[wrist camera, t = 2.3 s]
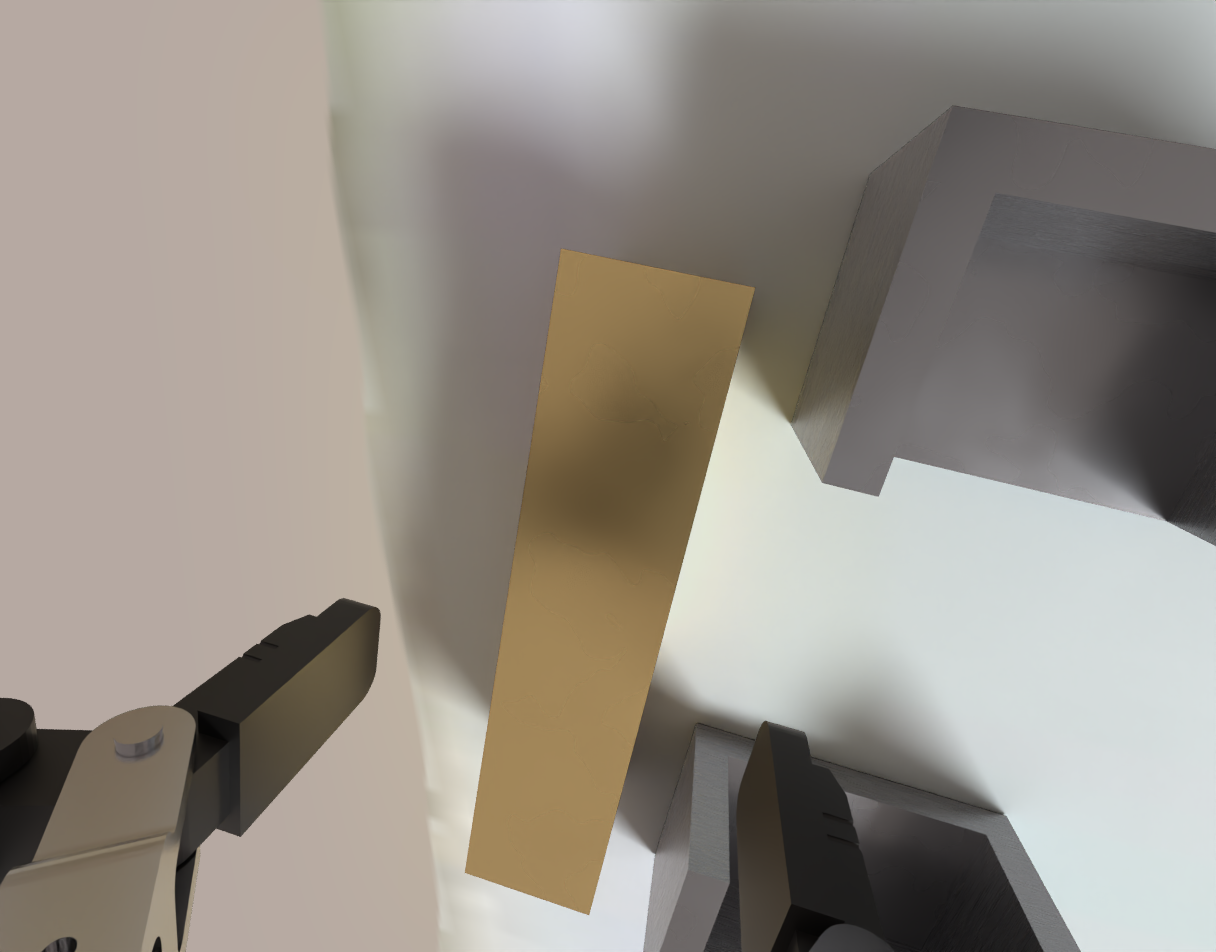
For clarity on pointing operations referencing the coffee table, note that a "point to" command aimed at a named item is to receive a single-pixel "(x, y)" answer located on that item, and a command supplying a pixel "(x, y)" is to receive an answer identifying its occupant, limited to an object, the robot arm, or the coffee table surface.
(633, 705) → the link bar
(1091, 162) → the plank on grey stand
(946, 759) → the coffee table surface
